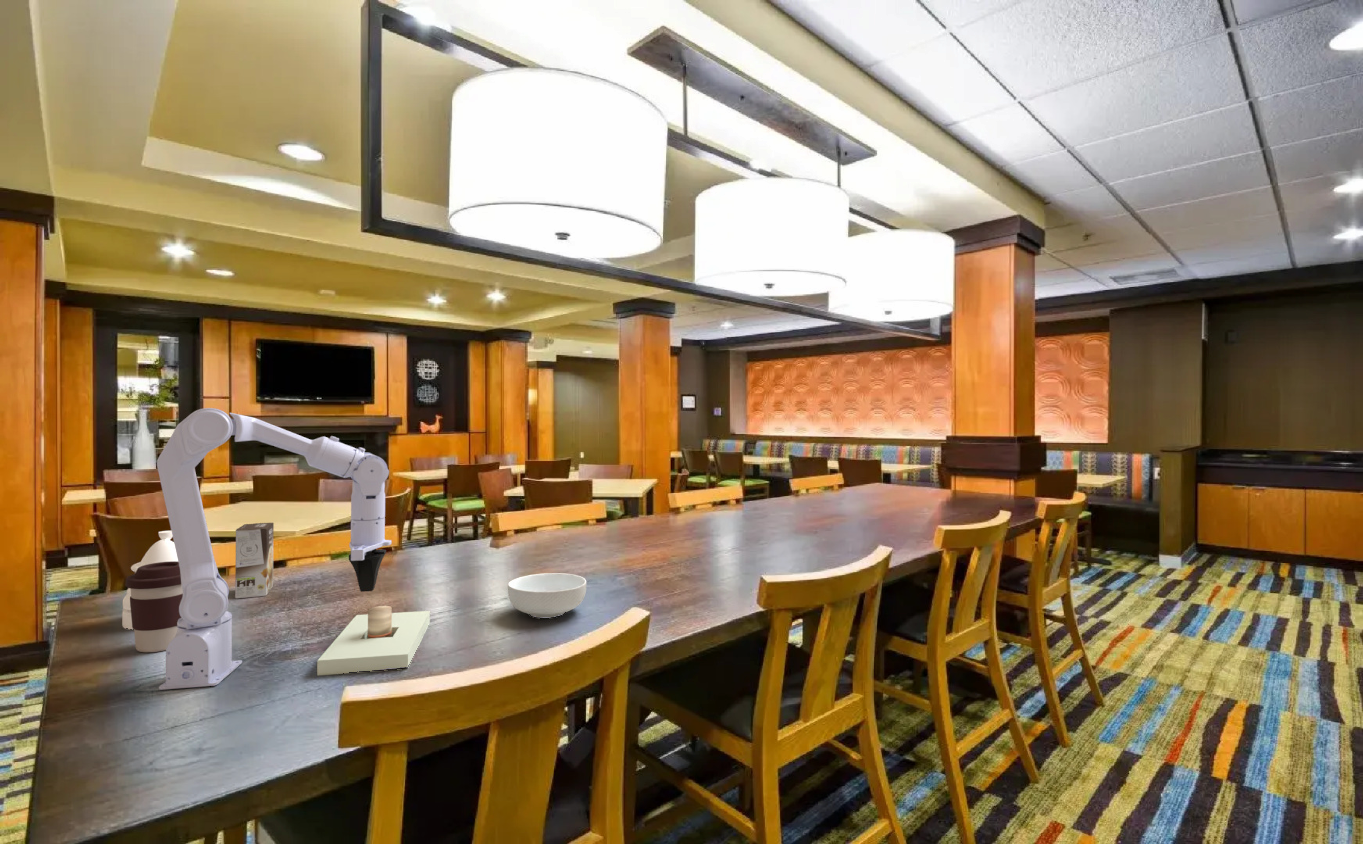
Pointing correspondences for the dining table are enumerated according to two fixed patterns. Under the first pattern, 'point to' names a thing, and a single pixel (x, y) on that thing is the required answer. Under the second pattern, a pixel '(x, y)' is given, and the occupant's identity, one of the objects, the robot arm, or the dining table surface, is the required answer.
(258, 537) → the coffee box
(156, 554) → the honey pot
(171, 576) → the coffee cup
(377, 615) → the peg
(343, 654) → the board
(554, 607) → the cereal bowl
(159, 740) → the dining table surface
